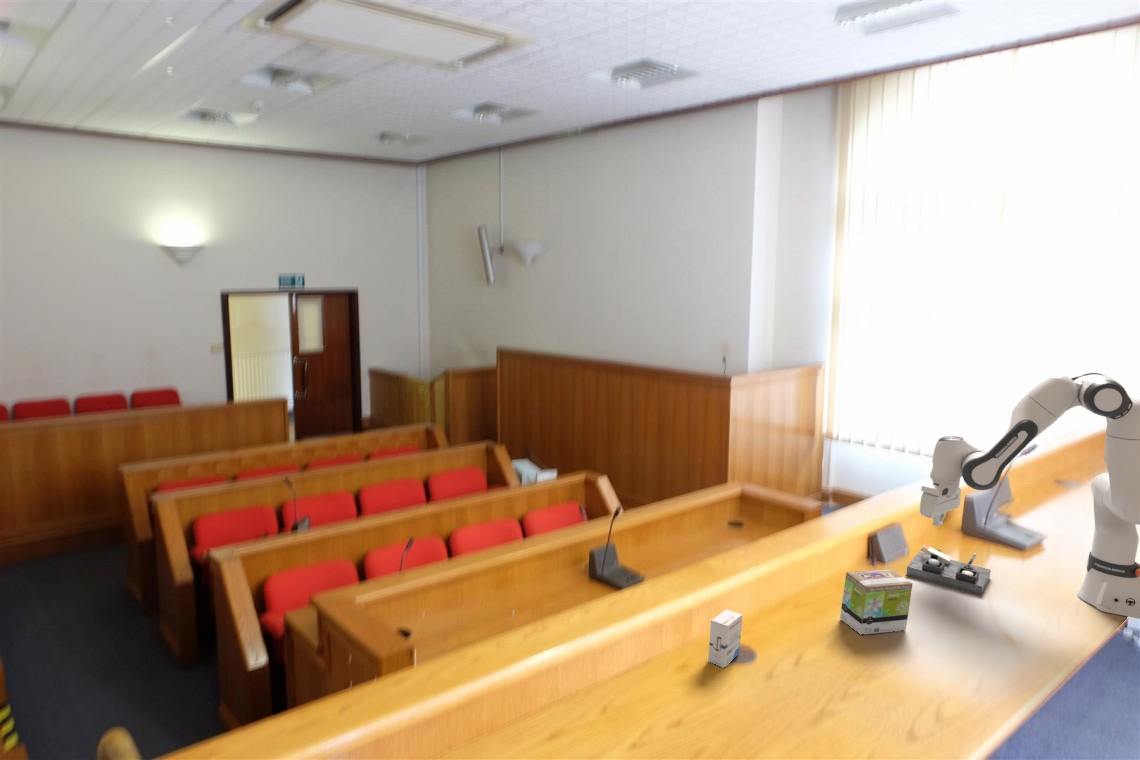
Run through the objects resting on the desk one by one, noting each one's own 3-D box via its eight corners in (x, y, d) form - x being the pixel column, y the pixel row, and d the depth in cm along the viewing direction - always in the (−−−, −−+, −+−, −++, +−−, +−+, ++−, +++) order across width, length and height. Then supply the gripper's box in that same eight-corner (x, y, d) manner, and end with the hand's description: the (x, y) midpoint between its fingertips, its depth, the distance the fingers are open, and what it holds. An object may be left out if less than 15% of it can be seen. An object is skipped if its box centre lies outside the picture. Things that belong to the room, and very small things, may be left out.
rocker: (948, 563, 255) (951, 556, 254) (946, 566, 252) (949, 560, 251) (921, 549, 259) (924, 543, 259) (919, 553, 256) (922, 546, 256)
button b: (940, 564, 249) (940, 560, 248) (937, 567, 246) (938, 563, 246) (929, 561, 250) (929, 558, 250) (927, 564, 248) (927, 561, 248)
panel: (989, 578, 250) (991, 561, 249) (981, 595, 237) (983, 578, 236) (917, 559, 263) (919, 543, 262) (906, 575, 250) (908, 558, 249)
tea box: (861, 637, 209) (866, 586, 207) (839, 619, 219) (844, 571, 216) (907, 631, 213) (913, 582, 211) (883, 614, 223) (889, 566, 220)
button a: (973, 576, 243) (974, 572, 243) (971, 579, 240) (972, 575, 240) (962, 573, 245) (963, 569, 245) (960, 576, 242) (961, 573, 242)
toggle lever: (969, 566, 250) (977, 554, 248) (969, 567, 249) (977, 555, 247) (966, 564, 250) (974, 552, 248) (965, 565, 249) (973, 553, 248)
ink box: (722, 648, 201) (726, 607, 199) (740, 655, 198) (743, 613, 196) (706, 662, 194) (709, 619, 192) (724, 669, 191) (727, 626, 189)
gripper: (949, 477, 257) (943, 516, 260) (918, 486, 245) (912, 527, 247) (968, 482, 252) (962, 522, 255) (938, 492, 240) (931, 534, 242)
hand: (937, 524), depth 251 cm, fingers closed
